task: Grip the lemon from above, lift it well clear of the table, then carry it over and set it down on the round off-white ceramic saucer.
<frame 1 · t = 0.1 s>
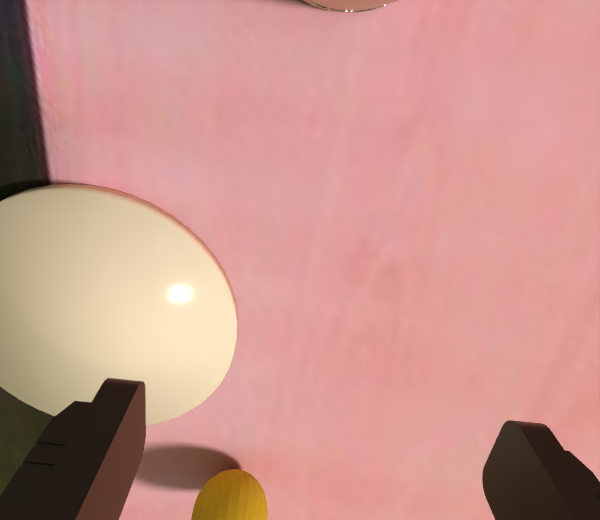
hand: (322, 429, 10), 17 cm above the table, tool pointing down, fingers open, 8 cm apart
saucer: (101, 315, 29), on the table
lemon: (236, 468, 36), on the table
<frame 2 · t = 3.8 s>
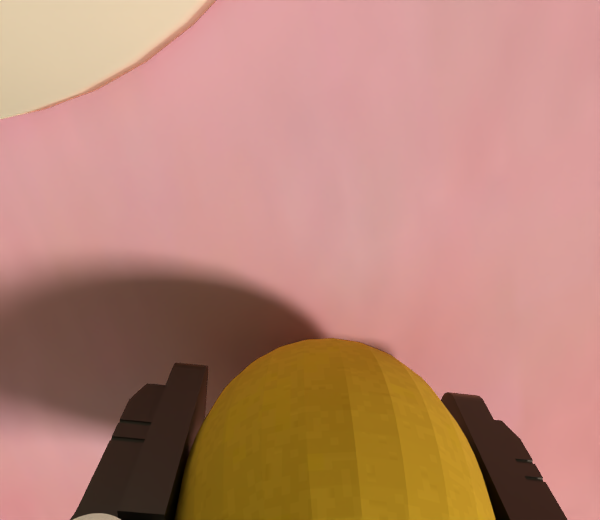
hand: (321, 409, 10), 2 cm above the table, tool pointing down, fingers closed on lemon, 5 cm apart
lemon: (318, 362, 12), on the table, touching gripper
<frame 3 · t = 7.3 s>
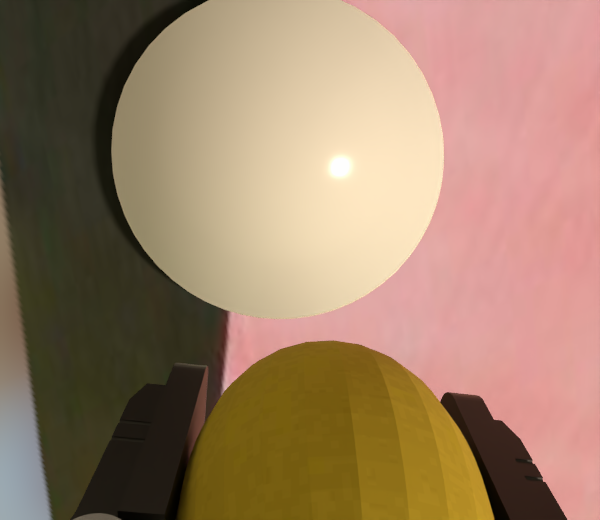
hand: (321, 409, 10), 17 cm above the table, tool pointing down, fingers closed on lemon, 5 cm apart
saucer: (279, 173, 25), on the table
lemon: (319, 364, 12), point 15 cm above the table, touching gripper
when the fingers open (4 cm above the table, at t = 11.0 s): lemon drops 1 cm, resting on saucer.
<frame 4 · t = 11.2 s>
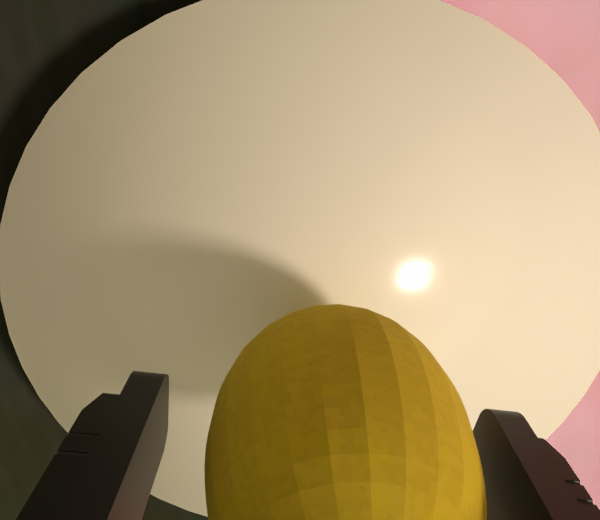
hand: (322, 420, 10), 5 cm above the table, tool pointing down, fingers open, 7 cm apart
saucer: (313, 314, 14), on the table
lemon: (324, 333, 13), point 1 cm above the table, touching saucer
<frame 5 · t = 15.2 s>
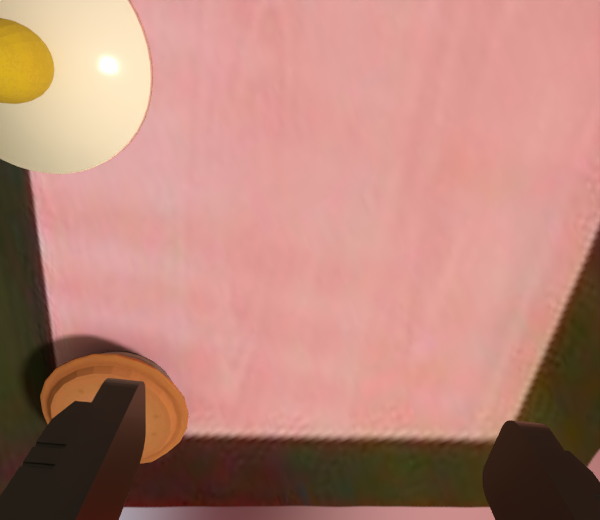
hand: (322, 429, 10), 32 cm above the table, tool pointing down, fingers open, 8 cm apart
pie: (126, 389, 51), on the table
saucer: (40, 60, 36), on the table
lemon: (37, 61, 35), point 1 cm above the table, touching saucer
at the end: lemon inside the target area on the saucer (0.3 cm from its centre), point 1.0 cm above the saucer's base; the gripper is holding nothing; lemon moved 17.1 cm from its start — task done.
